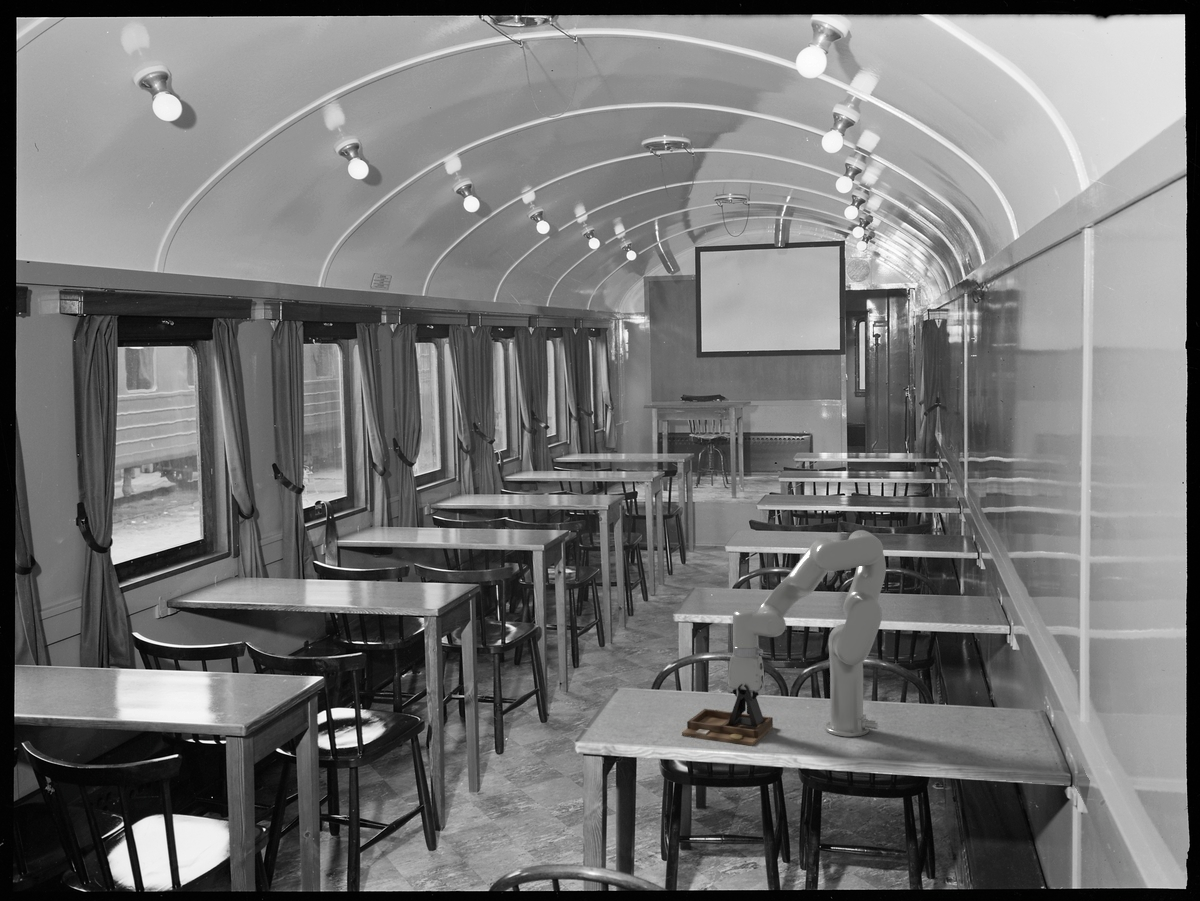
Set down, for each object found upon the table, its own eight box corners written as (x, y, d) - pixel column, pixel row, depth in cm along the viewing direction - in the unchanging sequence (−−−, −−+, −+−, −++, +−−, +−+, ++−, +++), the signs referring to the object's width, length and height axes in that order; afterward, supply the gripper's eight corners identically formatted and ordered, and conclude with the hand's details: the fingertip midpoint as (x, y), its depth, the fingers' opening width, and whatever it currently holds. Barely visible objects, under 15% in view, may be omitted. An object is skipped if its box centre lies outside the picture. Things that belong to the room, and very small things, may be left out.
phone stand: (764, 721, 319) (763, 681, 318) (757, 727, 314) (756, 687, 313) (735, 717, 323) (735, 678, 323) (728, 723, 318) (728, 683, 317)
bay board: (772, 727, 322) (772, 717, 322) (752, 745, 306) (752, 735, 306) (704, 718, 333) (704, 708, 332) (682, 735, 317) (681, 725, 316)
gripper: (775, 651, 317) (775, 712, 318) (725, 646, 324) (726, 705, 325) (767, 657, 310) (767, 719, 312) (716, 651, 318) (717, 712, 319)
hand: (746, 712), depth 318 cm, fingers closed on phone stand, 1 cm apart
